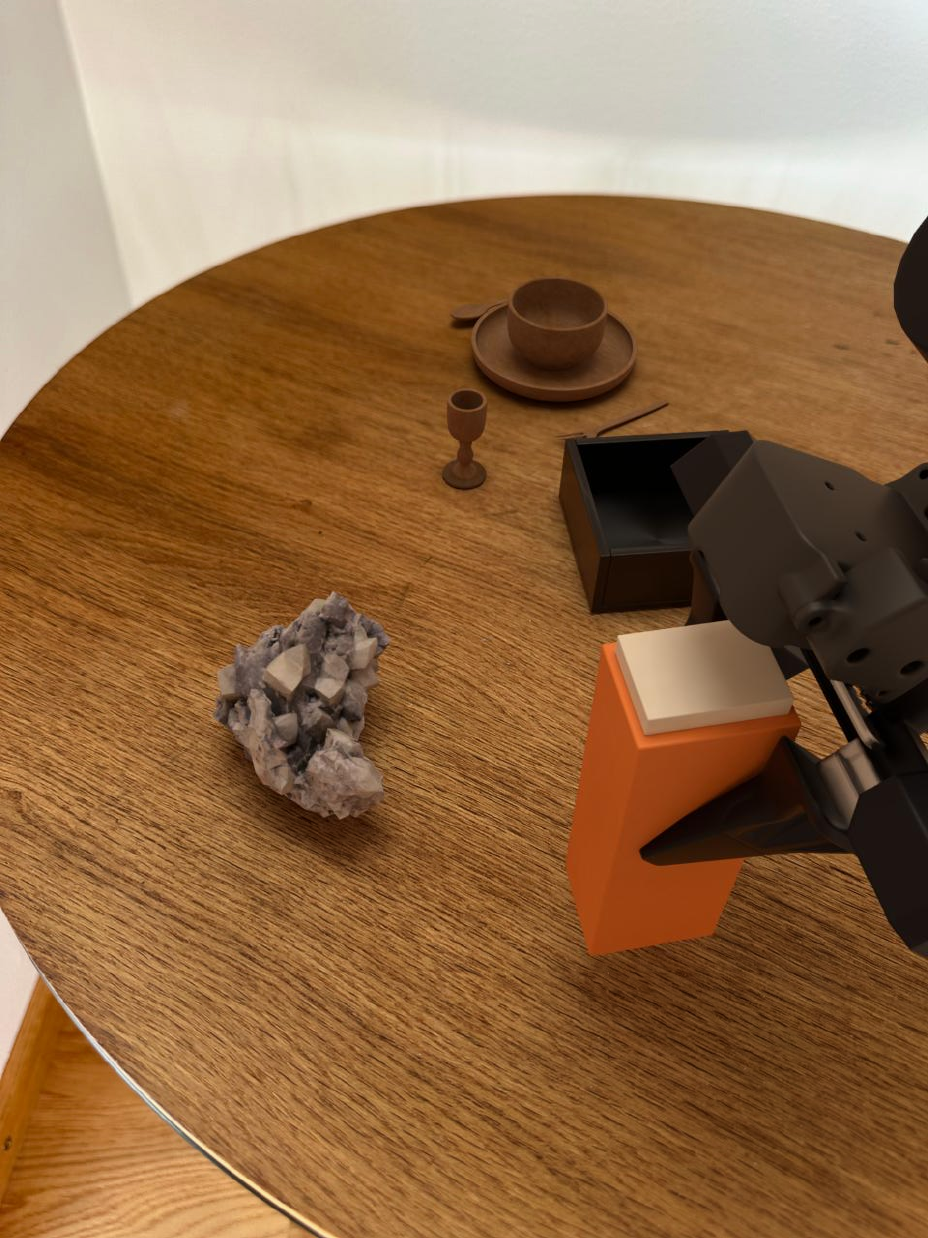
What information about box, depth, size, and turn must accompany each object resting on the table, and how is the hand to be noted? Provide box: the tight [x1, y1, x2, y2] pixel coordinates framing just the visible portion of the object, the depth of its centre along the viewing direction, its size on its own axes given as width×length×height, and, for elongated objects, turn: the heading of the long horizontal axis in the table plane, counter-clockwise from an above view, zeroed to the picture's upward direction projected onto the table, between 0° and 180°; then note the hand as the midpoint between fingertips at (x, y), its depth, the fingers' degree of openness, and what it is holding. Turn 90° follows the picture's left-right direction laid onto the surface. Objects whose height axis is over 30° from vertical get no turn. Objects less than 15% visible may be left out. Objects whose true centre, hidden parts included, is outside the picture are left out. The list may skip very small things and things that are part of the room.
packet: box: [564, 620, 802, 957], centre depth 37 cm, size 5×4×15 cm
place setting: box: [442, 275, 670, 490], centre depth 74 cm, size 18×20×6 cm
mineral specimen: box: [210, 590, 392, 820], centre depth 52 cm, size 12×9×10 cm
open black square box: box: [558, 429, 730, 615], centre depth 64 cm, size 10×10×5 cm
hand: (628, 803), depth 37 cm, fingers closed on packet, 4 cm apart
